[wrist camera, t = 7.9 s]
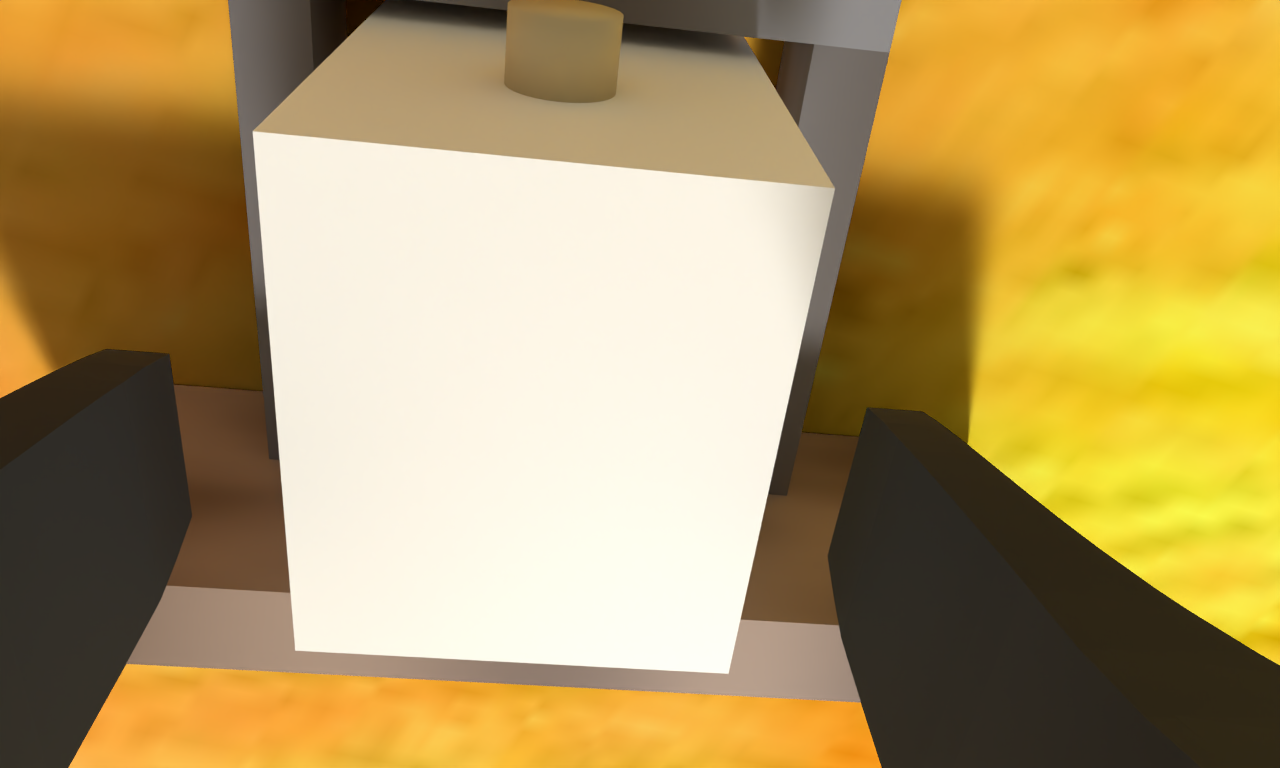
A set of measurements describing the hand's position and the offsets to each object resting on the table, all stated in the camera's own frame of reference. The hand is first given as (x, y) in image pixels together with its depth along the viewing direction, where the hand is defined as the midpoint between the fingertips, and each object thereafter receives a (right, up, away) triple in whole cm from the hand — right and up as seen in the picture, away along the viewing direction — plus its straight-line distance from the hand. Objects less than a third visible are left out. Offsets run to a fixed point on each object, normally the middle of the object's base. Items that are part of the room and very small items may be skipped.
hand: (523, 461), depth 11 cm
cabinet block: (0, +4, +6) cm, 7 cm away
